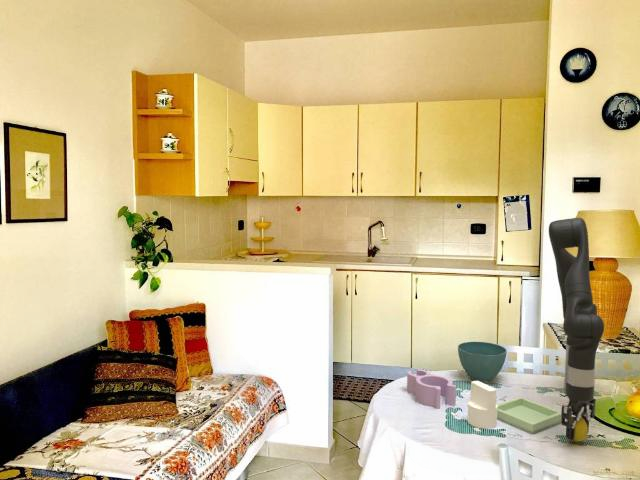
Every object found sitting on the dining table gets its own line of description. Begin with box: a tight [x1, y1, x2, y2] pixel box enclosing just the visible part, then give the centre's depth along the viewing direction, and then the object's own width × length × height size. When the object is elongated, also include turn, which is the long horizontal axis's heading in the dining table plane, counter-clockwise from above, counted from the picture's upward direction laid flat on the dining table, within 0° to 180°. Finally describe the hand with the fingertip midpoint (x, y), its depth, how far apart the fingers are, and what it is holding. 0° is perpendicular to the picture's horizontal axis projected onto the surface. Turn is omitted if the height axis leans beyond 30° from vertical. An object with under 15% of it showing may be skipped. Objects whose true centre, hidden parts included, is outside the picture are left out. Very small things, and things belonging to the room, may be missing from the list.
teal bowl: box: [457, 341, 508, 383], centre depth 212 cm, size 18×18×12 cm
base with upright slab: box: [467, 380, 498, 430], centre depth 172 cm, size 9×9×12 cm
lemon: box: [572, 415, 589, 443], centre depth 159 cm, size 6×6×8 cm
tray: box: [496, 396, 562, 435], centre depth 175 cm, size 16×16×3 cm
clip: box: [406, 368, 457, 410], centre depth 193 cm, size 20×12×7 cm, turn 26°
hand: (577, 436), depth 159 cm, fingers open, 7 cm apart
